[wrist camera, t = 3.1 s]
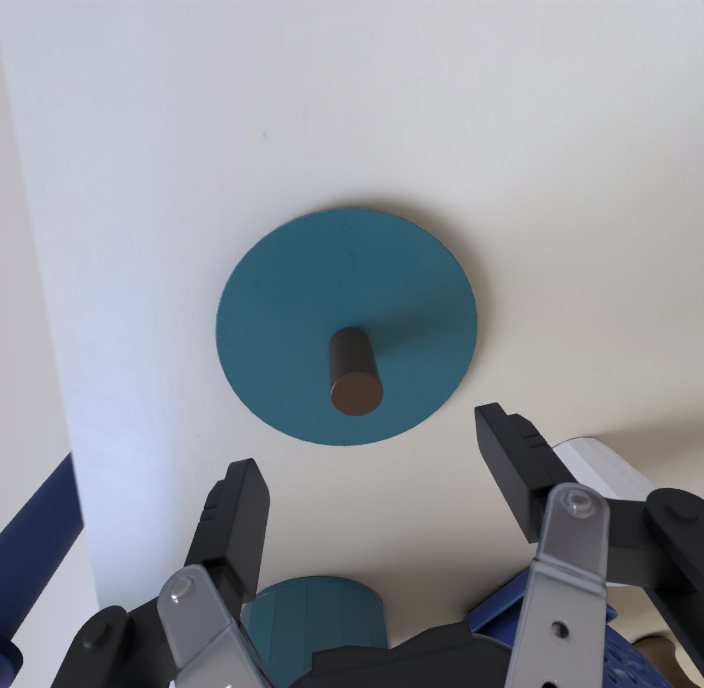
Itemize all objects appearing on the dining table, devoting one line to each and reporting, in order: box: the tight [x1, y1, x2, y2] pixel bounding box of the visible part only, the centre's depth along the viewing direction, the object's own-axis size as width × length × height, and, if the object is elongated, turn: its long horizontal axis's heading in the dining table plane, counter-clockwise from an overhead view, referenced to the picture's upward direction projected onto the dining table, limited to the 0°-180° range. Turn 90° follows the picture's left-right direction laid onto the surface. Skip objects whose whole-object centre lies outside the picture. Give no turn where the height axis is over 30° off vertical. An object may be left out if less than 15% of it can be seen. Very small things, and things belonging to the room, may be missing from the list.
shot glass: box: [552, 437, 659, 587], centre depth 25 cm, size 7×7×7 cm
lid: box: [215, 208, 477, 446], centre depth 19 cm, size 15×15×6 cm
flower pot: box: [461, 569, 674, 688], centre depth 31 cm, size 13×13×12 cm
